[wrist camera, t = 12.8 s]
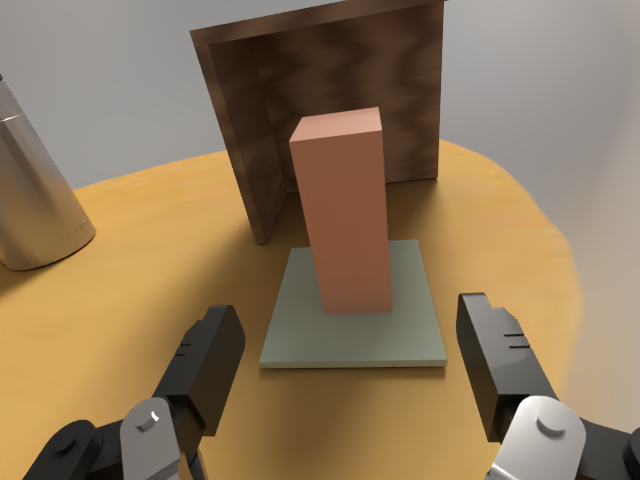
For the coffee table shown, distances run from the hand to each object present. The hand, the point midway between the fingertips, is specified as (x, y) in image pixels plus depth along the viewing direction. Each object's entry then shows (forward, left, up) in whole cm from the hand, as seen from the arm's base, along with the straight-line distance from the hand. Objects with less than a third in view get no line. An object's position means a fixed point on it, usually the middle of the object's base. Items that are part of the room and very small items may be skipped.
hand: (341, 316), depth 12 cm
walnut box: (-1, +24, -8) cm, 25 cm away
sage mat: (-1, +10, -8) cm, 13 cm away
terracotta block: (0, +10, -8) cm, 13 cm away
